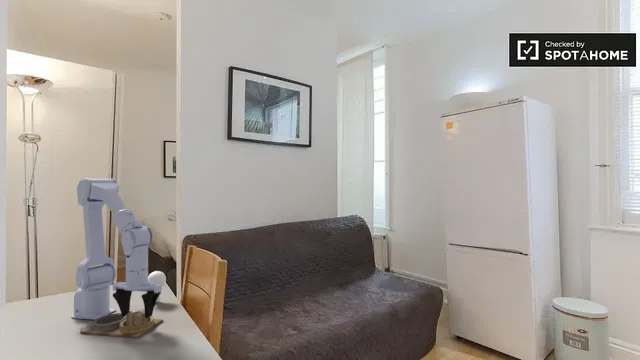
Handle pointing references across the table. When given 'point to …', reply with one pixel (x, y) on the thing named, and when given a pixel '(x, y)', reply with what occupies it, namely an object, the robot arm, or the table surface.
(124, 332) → the gear board
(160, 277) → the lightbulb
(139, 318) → the gear
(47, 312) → the table surface
